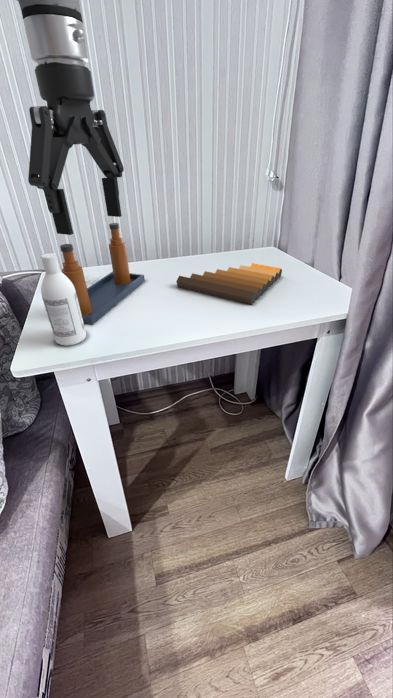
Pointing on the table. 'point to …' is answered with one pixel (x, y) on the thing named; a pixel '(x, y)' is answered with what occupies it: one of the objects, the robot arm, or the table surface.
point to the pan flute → (234, 282)
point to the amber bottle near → (76, 278)
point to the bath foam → (61, 303)
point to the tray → (108, 295)
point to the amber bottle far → (118, 256)
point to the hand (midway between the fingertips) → (92, 224)
